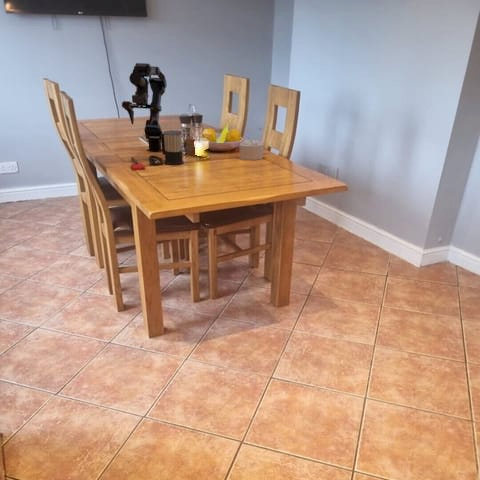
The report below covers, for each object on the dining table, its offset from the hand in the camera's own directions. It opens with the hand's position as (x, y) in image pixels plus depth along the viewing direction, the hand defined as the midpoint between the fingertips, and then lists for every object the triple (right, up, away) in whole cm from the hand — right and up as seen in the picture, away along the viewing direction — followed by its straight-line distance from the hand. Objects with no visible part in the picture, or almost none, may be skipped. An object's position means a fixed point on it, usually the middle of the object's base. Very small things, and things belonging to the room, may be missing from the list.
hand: (141, 124), depth 226 cm
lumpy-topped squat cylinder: (+55, -11, +17) cm, 58 cm away
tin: (+25, -9, +18) cm, 32 cm away
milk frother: (+12, -19, +2) cm, 23 cm away
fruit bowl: (+39, +1, +34) cm, 51 cm away
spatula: (-2, -21, -2) cm, 21 cm away
